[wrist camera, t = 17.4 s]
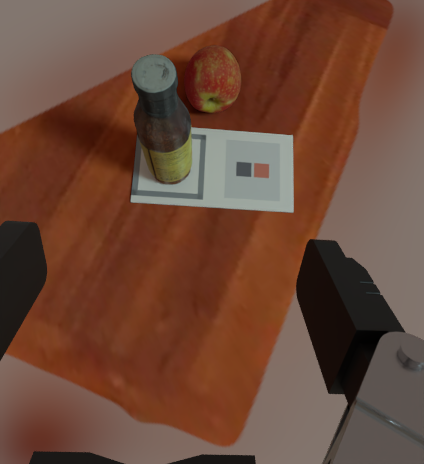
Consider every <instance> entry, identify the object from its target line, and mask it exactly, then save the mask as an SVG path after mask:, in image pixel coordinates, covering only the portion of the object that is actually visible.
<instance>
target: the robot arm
mask: <svg viewBox="0 0 424 464" xmlns="http://www.w3.org/2000/svg"><path fill="white" fill-rule="evenodd" d="M46 276H47V264H46V259H45V255H44V250H43V245H42V240H41V236H40V231H39V228H38V226H37V224H36V223H34V222H19V221H5V222H4V223H3V224H2V225H1V226H0V360H1V359H2V357H3V355H4V354H5V352H6V350H7V348H8V347H9V345H10V343H11V341H12V340H13V338H14V336H15V335H16V333H17V331H18V329H19V328H20V326H21V324H22V322H23V321H24V319H25V317H26V316H27V314H28V312H29V310H30V309H31V307H32V305H33V303H34V302H35V300H36V298H37V297H38V295H39V293H40V291H41V290H42V288H43V286H44V284H45V281H46ZM373 283H374V282H373V280H372V278H371V277H370V275H369V274H368V272H367V270H366V269H365V268H364V267H362V266H361V265H360V264H359V263H357V262H356V261H355V260H354V259H353V258H346V257H345V255H344V253H343V252H342V250H341V248H340V246H339V245H338V243H337V242H336V241H332V240H315V239H310V240H309V241H308V243H307V245H306V249H305V252H304V256H303V260H302V263H301V267H300V271H299V274H298V278H297V284H296V293H297V299H298V302H299V305H300V308H301V311H302V314H303V317H304V320H305V323H306V326H307V329H308V332H309V335H310V339H311V341H312V345H313V348H314V350H315V354H316V357H317V360H318V363H319V366H320V369H321V372H322V375H323V378H324V381H325V384H326V387H327V390H328V393H329V394H345V397H346V399H347V402H348V404H347V406H346V408H345V410H344V413H343V415H342V418H341V420H340V423H339V425H338V427H337V429H336V432H335V434H334V437H333V439H332V441H331V444H330V446H329V448H328V451H327V453H326V456H325V458H324V460H323V463H322V464H424V340H422V339H420V338H418V337H416V336H414V335H411V334H407V333H405V331H404V329H403V328H402V326H401V324H400V323H399V322H398V320H397V318H396V317H395V315H394V313H393V312H392V310H391V309H390V307H389V306H388V304H387V302H386V301H385V299H384V298H383V296H382V295H380V291H379V290H378V288H377V286H376V285H375V284H373ZM29 464H124V463H120V462H117V461H114V460H111V459H108V458H105V457H102V456H99V455H96V454H93V453H88V452H87V453H86V452H84V453H83V452H36V451H35V452H33V455H32V458H31V460H30V463H29ZM169 464H256V463H255V456H251V455H249V456H248V455H199V456H195V457H191V458H188V459H184V460H180V461H176V462H173V463H169Z"/></svg>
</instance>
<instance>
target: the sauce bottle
mask: <svg viewBox="0 0 424 464" xmlns="http://www.w3.org/2000/svg"><path fill="white" fill-rule="evenodd" d="M131 77H132V82H133V85H134V89H135V91H136V92H137V94H138V96H139V100H138V103H137V106H136V108H135V111H134V122H135V127H136V129H137V135H138V139H139V142H140V145H141V147H142V150H143V153H144V157H145V160H146V163H147V166H148V169H149V171H150V172H151V174H152V175H153V176H154V178H155V179H156V180H157V181H158V182H160V183H163V184H166V185H167V184H169V185H173V184H178V183H180V182H182V181H183V180H185V178H186V177H187V176H188V175H189V173H190V170H191V166H192V138H191V137H192V135H191V119H190V115H189V112H188V110H187V108H186V107H185V105H184V104H183V102H182V101H181V99H180V98H179V97H178V95H177V90H176V88H177V85H178V78H177V72H176V68H175V66H174V64H173V63H172V62H171V61H170V60H169V59H168V58H166V57H165V56H162V55H153V54H152V55H147V56H144V57H142V58H140V59H139V60H138V61H137V62H136V63H135V64H134V66H133V68H132V72H131Z"/></svg>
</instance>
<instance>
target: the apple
mask: <svg viewBox="0 0 424 464" xmlns="http://www.w3.org/2000/svg"><path fill="white" fill-rule="evenodd" d="M184 85H185V92H186V96H187V98H188V100H189V102H190V104H191V105H192V106H193V107H194V108H195V109H197V110H199V111H202V112H207V113H217V112H222V111H224V110H226V109H228V108H229V107H230V106H231V105H232V104H233V103H234V101H235V100H236V98H237V96H238V94H239V91H240V87H241V73H240V69H239V65H238V63H237V61H236V59H235V57H234V56H233V54H232V53H231V52H230V51H228V50H227V49H226V48H223V47H221V46H216V45H214V46H208V47H205V48H202V49H201V50H199V51H198V52H197V53H195V54H194V55H193V57H192V58H191V60H190V61H189V63H188V66H187V68H186V71H185V77H184Z"/></svg>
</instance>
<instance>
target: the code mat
mask: <svg viewBox="0 0 424 464" xmlns="http://www.w3.org/2000/svg"><path fill="white" fill-rule="evenodd" d="M191 135H192V137H191V138H192V166H191V170H190V173H189V175H188V176H187V177H186V178H185V180H183V181H182V182H180V183H178V184H173V185H169V184H167V185H166V184H163V183H160V182H158V181H157V180H156V179H155V178H154V176H153V175H152V174H151V172H150V171H149V169H148V166H147V163H146V160H145V157H144V153H143V150H142V147H141V145H140V142H139V139H138V135H137V142H136V152H135V163H134V173H133V183H132V193H131V202H133V203H149V204H164V205H180V206H196V207H211V208H227V209H243V210H259V211H274V212H290V213H293V212H294V205H293V135H280V134H267V133H254V132H242V131H229V130H216V129H203V128H191Z"/></svg>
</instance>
